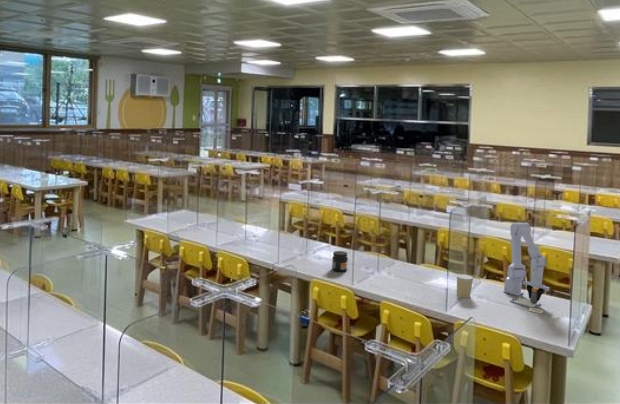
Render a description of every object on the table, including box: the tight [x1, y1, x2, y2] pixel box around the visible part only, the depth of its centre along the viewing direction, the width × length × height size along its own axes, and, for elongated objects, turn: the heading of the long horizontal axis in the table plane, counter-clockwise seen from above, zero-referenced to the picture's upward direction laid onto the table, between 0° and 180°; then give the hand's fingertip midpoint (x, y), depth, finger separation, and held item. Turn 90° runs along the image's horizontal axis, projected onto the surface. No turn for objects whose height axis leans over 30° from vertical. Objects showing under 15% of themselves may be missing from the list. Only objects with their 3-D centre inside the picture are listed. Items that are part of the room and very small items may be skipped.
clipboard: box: [509, 296, 542, 309], centre depth 306 cm, size 14×10×1 cm
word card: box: [527, 308, 544, 314], centre depth 295 cm, size 7×5×1 cm
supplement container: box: [331, 250, 349, 273], centre depth 354 cm, size 10×10×12 cm
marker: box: [529, 287, 539, 303], centre depth 304 cm, size 4×4×8 cm
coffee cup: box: [456, 273, 474, 299], centre depth 314 cm, size 9×9×12 cm
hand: (534, 299), depth 304 cm, fingers closed on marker, 4 cm apart
